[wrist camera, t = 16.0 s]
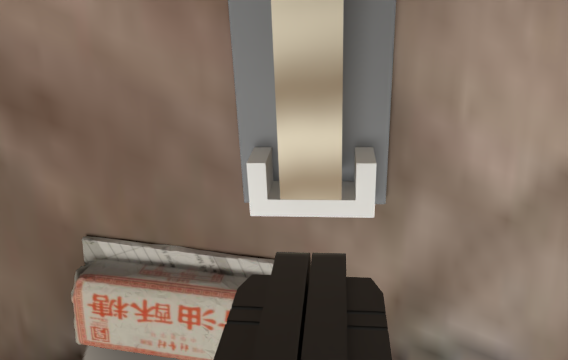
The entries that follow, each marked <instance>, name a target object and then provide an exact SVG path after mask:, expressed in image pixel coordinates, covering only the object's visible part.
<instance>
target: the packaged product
mask: <svg viewBox="0 0 568 360" xmlns="http://www.w3.org/2000/svg"><path fill="white" fill-rule="evenodd" d="M82 242H83V252H84V262H85V266H81V267H80V268H79V269H77V270H76V273H75V276H74V279H75V283H74V288H73V290H72V292H71V295H72V296H71V299H72V302H73V306H74V314H75V317H74V328H75V331H76V336H75V340H76V343H78V344H79V345H80V344H84V345H90V346H94V347H100V348H108V349H112V350H113V349H114V350H121V351H129V352H133V353H143V354H148V355H155V356H161V357H169V358H176V359H181V360H213V359H214V356H215V353H216V350H217V347H218V344H219V342H220V339H221V336H222V333H223V330H224V327H225V324H227V318H228V315H229V312H230V309H231V308H232V303H233V300H234V297H235V294H236V291H237V288H238V287H239V286H240V285H241V284H243V283H244V282H245V281H246V280H247V279H248V278H249V277H250V276H251V275H252V274H258V275H271V272H272V268H273V264H274V260H273V259H262V258H253V257H247V256H238V255H231V254H225V253H218V252H212V251H205V250H197V249H192V248H187V247H181V246H171V245H160V244H147V243H140V242H132V241H125V240H117V239H109V238H101V237H90V236H86V237H83V239H82Z"/></svg>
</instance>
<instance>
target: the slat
mask: <svg viewBox="0 0 568 360" xmlns="http://www.w3.org/2000/svg"><path fill="white" fill-rule="evenodd" d="M343 4H344V0H271V13H272V34H273V55H274V77H275V98H276V119H277V140H278V162H279V183H280V199H285V200H341V199H342V101H343Z"/></svg>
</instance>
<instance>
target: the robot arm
mask: <svg viewBox="0 0 568 360" xmlns="http://www.w3.org/2000/svg"><path fill="white" fill-rule="evenodd" d="M213 360H392V357H391V349H390V342H389V334H388V327H387V319H386V315H385V304H384V297H383V293H382V292H381V290H380V289H379V288H378V286H377V285H376V284H375V283H374V281H373V280H372V279H371V278H359V277H346V254H340V253H312V261H311V258H310V253H295V252H277V253H276V256H275V260H274V264H273V268H272V272H271V275H258V274H252V275H251V276H250V277H249V278H248V279H247V280H246V281H245V282H244V283H243V284H241V285H240V286H239V287H238V288H237V291H236V294H235V297H234V300H233V303H232V308H231V309H230V312H229V315H228V318H227V324H225V327H224V330H223V333H222V336H221V339H220V342H219V344H218V347H217V350H216V353H215V356H214V359H213Z"/></svg>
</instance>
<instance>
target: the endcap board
mask: <svg viewBox="0 0 568 360" xmlns="http://www.w3.org/2000/svg"><path fill="white" fill-rule="evenodd" d="M228 6H229V19H230V31H231V43H232V56H233V68H234V81H235V93H236V106H237V118H238V130H239V143H240V155H241V168H242V180H243V193H244V202H247V203H249V204H250V216H293V217H361V218H374V212H375V204H385V203H386V184H387V165H388V146H389V127H390V107H391V88H392V69H393V50H394V31H395V12H396V0H344V4H343V101H342V199H341V200H285V199H280V183H279V162H278V140H277V119H276V98H275V77H274V55H273V34H272V13H271V0H228Z"/></svg>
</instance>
